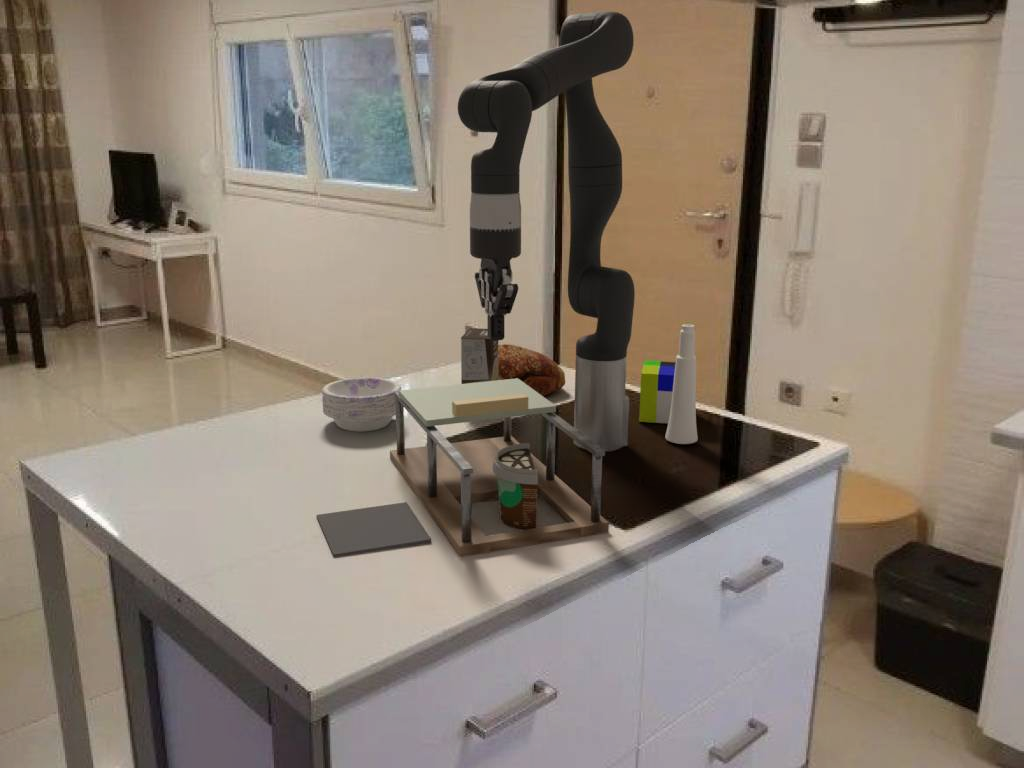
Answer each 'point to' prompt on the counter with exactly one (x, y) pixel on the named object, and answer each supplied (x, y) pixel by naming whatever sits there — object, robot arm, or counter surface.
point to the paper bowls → (360, 403)
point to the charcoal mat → (372, 529)
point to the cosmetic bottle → (684, 392)
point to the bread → (529, 368)
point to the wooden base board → (490, 497)
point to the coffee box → (478, 357)
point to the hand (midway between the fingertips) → (495, 339)
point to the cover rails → (467, 469)
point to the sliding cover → (475, 402)
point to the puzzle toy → (656, 391)
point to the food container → (517, 486)
